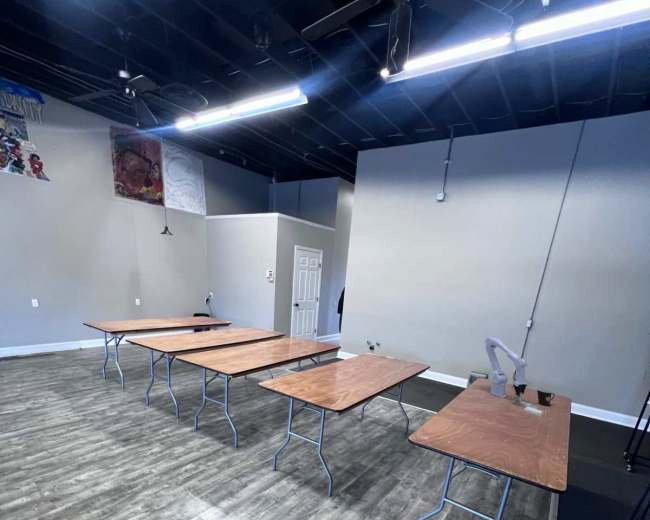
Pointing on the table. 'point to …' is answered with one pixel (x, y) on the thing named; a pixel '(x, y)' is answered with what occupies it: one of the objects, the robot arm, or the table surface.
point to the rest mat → (524, 405)
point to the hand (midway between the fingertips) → (519, 394)
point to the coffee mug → (544, 397)
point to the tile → (533, 411)
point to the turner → (520, 400)
